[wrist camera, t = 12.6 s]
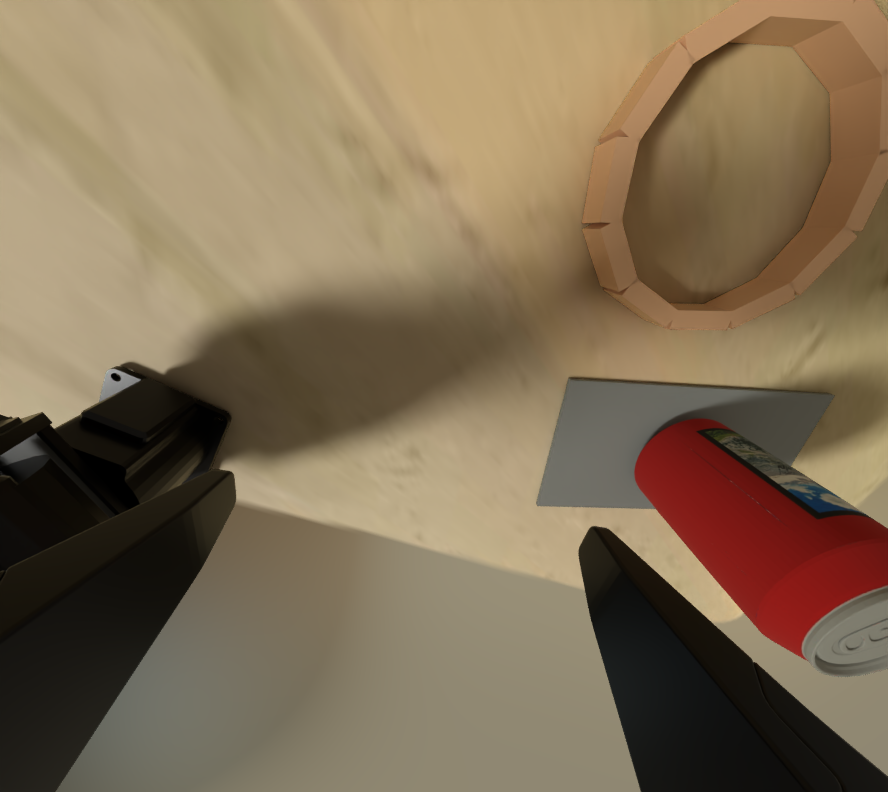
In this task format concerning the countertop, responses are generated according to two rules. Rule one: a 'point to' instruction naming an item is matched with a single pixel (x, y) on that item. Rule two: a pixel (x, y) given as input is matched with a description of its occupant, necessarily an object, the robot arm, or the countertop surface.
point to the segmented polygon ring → (842, 190)
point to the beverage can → (775, 544)
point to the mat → (645, 415)
